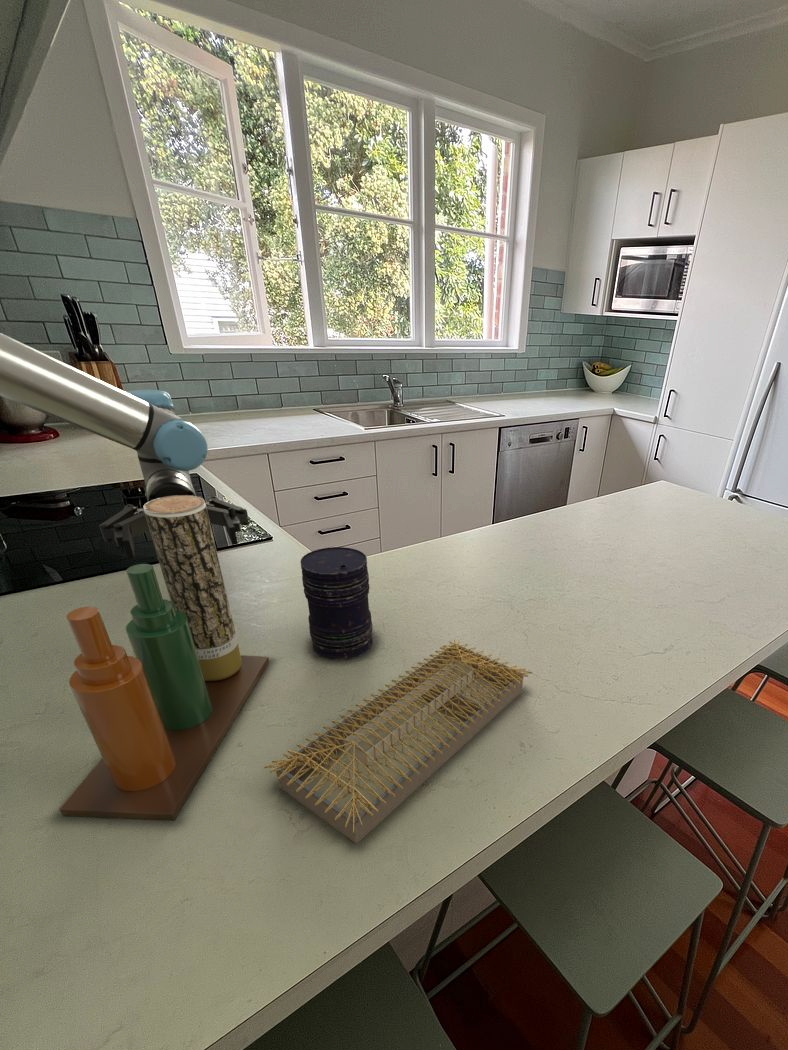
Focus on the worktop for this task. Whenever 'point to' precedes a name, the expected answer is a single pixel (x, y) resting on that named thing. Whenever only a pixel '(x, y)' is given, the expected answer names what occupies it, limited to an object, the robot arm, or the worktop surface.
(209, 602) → the bark cylinder
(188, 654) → the green bottle
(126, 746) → the amber bottle
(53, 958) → the worktop surface
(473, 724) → the rafter model
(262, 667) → the walnut board
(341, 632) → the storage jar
